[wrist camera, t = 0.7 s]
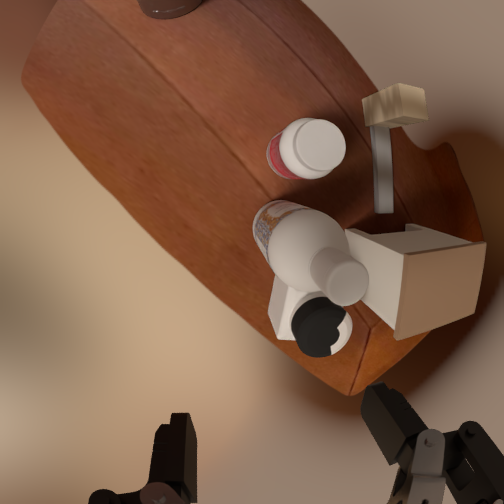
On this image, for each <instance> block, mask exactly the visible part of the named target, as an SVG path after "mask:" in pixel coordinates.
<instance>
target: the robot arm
mask: <svg viewBox="0 0 504 504" xmlns="http://www.w3.org/2000/svg"><path fill="white" fill-rule="evenodd" d="M137 1H138V3H139V5H140V7H141V9H142V11H143V12H144V13H145V14H146V15H147V16H150V17H152V18H156V19H170V18H175V17H179V16H182V15H184V14H187V13H188V12H190V11H192V10H193V9H195V8H196V7H197V6H198V5H199V4H200V3H201V2H202V0H137ZM361 415H362V418H363V419H364V421H365V423H366V425H367V426H368V428H369V430H370V432H371V434H372V435H373V437H374V439H375V441H376V442H377V444H378V446H379V448H380V449H381V451H382V453H383V455H384V456H385V458H386V460H387V462H388V463H389V465H392V464H395V463H397V462H398V464H399V465H400V466H399V468H398V471H397V475H396V479H395V482H394V486H393V489H392V492H391V495H390V499H389V501H388V503H387V504H442V501H443V495H444V490H445V483H446V484H447V486H448V488H449V490H450V492H451V493H452V495H453V497H454V499H455V501H456V502H457V504H504V456H503V454H502V453H501V452H500V450H499V449H498V448H497V446H496V445H495V444H494V442H493V441H492V440H491V438H490V437H489V436H488V434H487V433H486V432H485V431H484V429H483V428H482V427H481V425H479V424H478V423H477V422H474V421H467V422H464V423H463V424H462V425H461V426H460V428H459V429H458V430H456V431H451V432H447V433H441V432H440V431H438V430H435V429H428V427H427V426H426V425H425V424H424V422H423V421H422V420H421V418H420V417H419V416H418V414H417V413H416V412H415V411H414V409H413V408H411V405H410V404H409V403H408V402H407V400H406V399H405V398H404V396H403V395H402V394H401V393H400V392H398V391H396V390H395V389H390V390H389V389H388V388H387V386H386V385H385V383H384V382H378V383H375V384H371V385H368V386H367V387H366V389H365V393H364V397H363V400H362V404H361ZM465 458H466V459H467V460H466V459H465ZM467 461H468V462H467ZM468 463H469V464H470V465H469V464H468ZM470 466H471V467H472V468H471V467H470ZM472 469H473V470H474V471H473V470H472ZM190 503H197V438H196V432H195V429H194V426H193V423H192V420H191V417H190V414H189V413H172V414H171V419H170V424H161V425H160V427H159V428H158V430H157V431H156V433H155V439H154V444H153V452H152V458H151V465H150V472H149V479H148V482H147V484H146V485H145V486H144V487H143V488H142V489H140V490H139V491H136V492H131V493H124V494H115V493H114V492H113V491H110V490H107V489H100V490H97V491H95V492H93V493H92V494H91V496H90V498H89V503H88V504H190Z"/></svg>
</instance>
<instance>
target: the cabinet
mask: <svg viewBox="0 0 504 504" xmlns="http://www.w3.org/2000/svg"><path fill="white" fill-rule="evenodd" d="M345 235H346V237H347V240H348V243H349V249H350V256H351V257H353V258H354V259H356V260H357V261H359V262H360V263H362V264H363V265H364V266H365V268H366V269H367V271H368V274H369V285H368V288H367V290H366V292H365V294H364V295H363V297H362V298H361V300H362V301H363V302H364V303H365V304H366V305H367V306H368V307H370V308H371V309H372V310H373V311H374V312H375V313H376V314H377V315H378V316H379V317H381V318H382V319H383V320H384V321H385V322H386V323H387V324H388V325H389V326H390V327H391V328H393V329H394V336H393V337H394V338H395V339H396V340H397V341H398V340H401V339H404V338H408V337H411V336H414V335H417V334H420V333H423V332H426V331H429V330H432V329H434V328H437V327H440V326H443V325H445V324H448V323H450V322H453V321H456V320H458V319H461V318H463V317H466V316H468V315H471V314H473V313H474V311H475V307H476V303H477V298H478V293H479V288H480V283H481V278H482V272H483V266H484V259H485V251H486V243H485V242H482V241H481V242H475V243H472V242H469V241H467V240H464V239H461V238H458V237H455V236H452V235H448V234H445V233H442V232H439V231H436V230H433V229H429V228H426V227H423V226H419V225H416V224H405V232H395V233H385V234H374V235H370V234H368V233H365V232H363V231H360V230H358V229H355V228H352V229H345Z"/></svg>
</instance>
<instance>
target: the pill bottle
mask: <svg viewBox="0 0 504 504" xmlns="http://www.w3.org/2000/svg"><path fill="white" fill-rule="evenodd" d="M345 151H346V144H345V139H344V137H343V134H342V133H341V131H340V130H339V129H338V127H337V126H335V125H334V124H333V123H331V122H329V121H326V120H322V119H314V118H302V119H298V120H296V121H294V122H292V123H291V124H289V125H288V126H287V127H285V128H284V129H283V130H281V131H280V132H279V133H277V134H276V135H275V136H274V137H273V138H272V139H271V141H270V142H269V144H268V147H267V160H268V163H269V165H270V167H271V168H272V170H273V171H274V172H275V173H277V174H278V175H279V176H281V177H284V178H287V179H316V178H321V177H323V176H325V175H327V174H328V173H330V172H331V171H332V170H333V169H334V168H335V167H337V166H338V165H339V164H340V163H341V161H342V160H343V158H344V155H345Z"/></svg>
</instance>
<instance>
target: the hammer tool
mask: <svg viewBox="0 0 504 504" xmlns="http://www.w3.org/2000/svg"><path fill="white" fill-rule="evenodd" d="M362 103H363V110H364V119H365V126H366V127H370V133H371V144H372V157H373V174H374V210H375V213H379V214H380V213H393V173H392V155H391V142H390V132H389V129H390V128H394V127H399V126H403V125H408V124H413V123H418V122H423V121H428V120H429V119H428V113H427V105H426V99H425V94H424V89H421V88H418V87H414V86H410V85H406V84H402V83H397V84H394V85H392V86H390V87H388V88H386V89H383V90H382V91H379V92H377V93H374V94H372V95H370V96H368V97H366V98H364V99H362Z"/></svg>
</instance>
